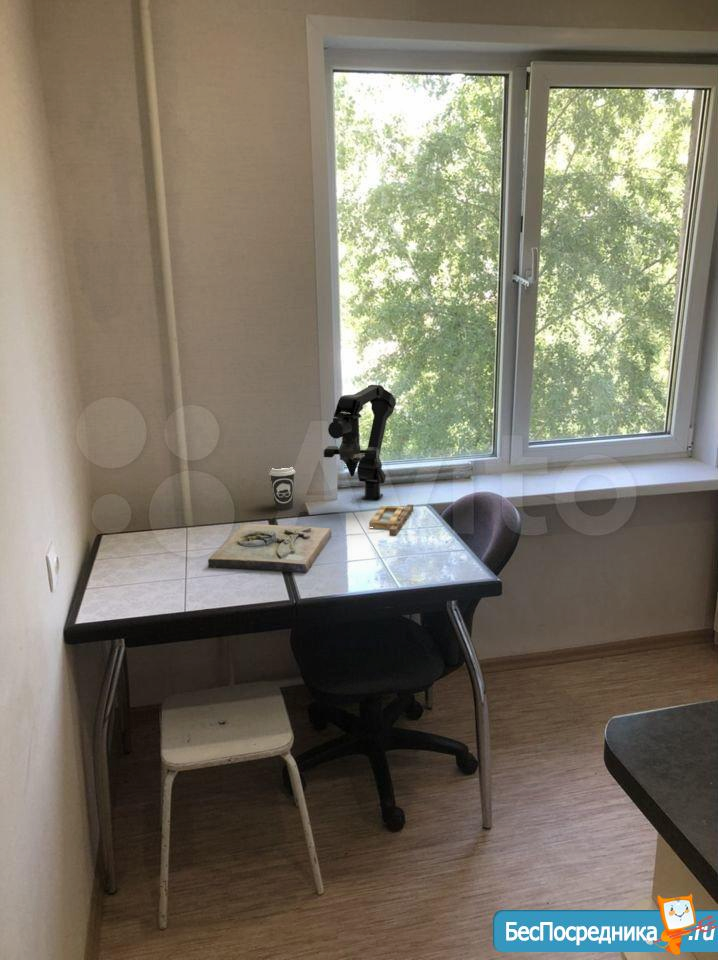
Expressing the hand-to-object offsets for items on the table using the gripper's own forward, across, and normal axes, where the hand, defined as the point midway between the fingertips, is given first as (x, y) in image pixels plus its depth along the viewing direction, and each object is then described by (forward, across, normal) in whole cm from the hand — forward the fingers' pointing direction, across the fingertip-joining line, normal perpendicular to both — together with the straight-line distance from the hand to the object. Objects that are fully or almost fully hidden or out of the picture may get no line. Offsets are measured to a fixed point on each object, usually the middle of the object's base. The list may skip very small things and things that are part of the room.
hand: (352, 476), depth 256 cm
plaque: (+12, -14, -44) cm, 48 cm away
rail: (+12, +20, -12) cm, 26 cm away
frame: (+12, +14, -10) cm, 21 cm away
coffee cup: (+12, -25, -2) cm, 28 cm away
